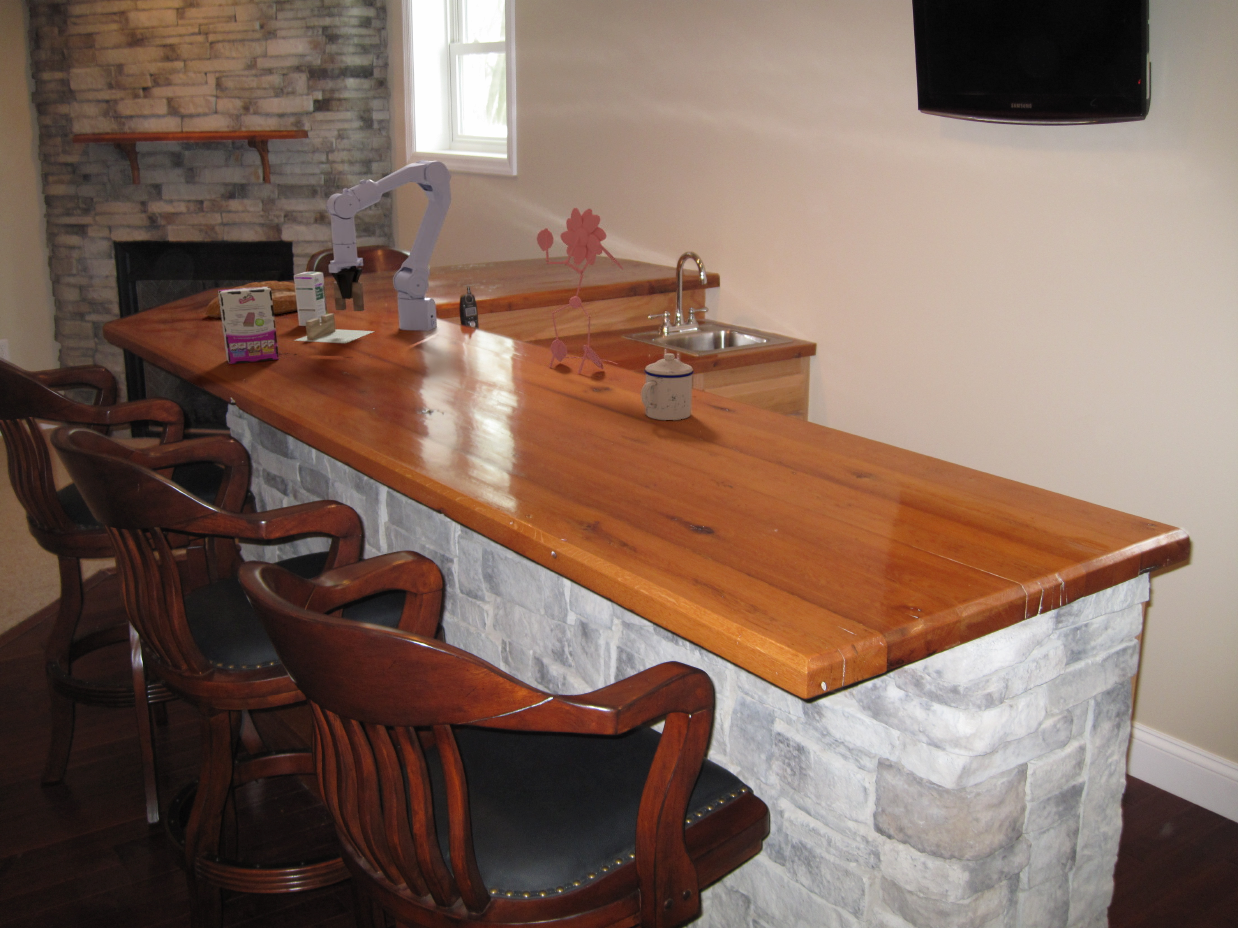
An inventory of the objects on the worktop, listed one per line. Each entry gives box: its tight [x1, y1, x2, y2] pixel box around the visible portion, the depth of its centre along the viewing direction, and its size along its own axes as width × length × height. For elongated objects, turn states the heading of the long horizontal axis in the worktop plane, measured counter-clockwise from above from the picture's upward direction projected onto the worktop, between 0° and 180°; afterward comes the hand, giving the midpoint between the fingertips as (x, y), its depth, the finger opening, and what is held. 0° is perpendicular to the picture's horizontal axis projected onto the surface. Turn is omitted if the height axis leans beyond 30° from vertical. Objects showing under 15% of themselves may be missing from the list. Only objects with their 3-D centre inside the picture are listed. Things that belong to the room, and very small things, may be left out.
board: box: [293, 328, 375, 344], centre depth 258 cm, size 14×16×1 cm
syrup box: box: [293, 271, 328, 327], centre depth 272 cm, size 6×6×14 cm
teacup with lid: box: [640, 352, 694, 421], centre depth 188 cm, size 12×9×12 cm
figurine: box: [536, 207, 624, 378], centre depth 226 cm, size 15×26×35 cm, turn 49°
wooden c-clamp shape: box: [333, 281, 365, 312], centre depth 257 cm, size 7×2×7 cm, turn 77°
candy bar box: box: [217, 287, 280, 365], centre depth 232 cm, size 11×5×16 cm, turn 117°
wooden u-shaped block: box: [305, 313, 336, 340], centre depth 258 cm, size 1×12×5 cm, turn 167°
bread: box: [204, 280, 298, 319], centre depth 296 cm, size 18×35×9 cm, turn 138°
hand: (348, 298), depth 258 cm, fingers closed on wooden c-clamp shape, 2 cm apart
